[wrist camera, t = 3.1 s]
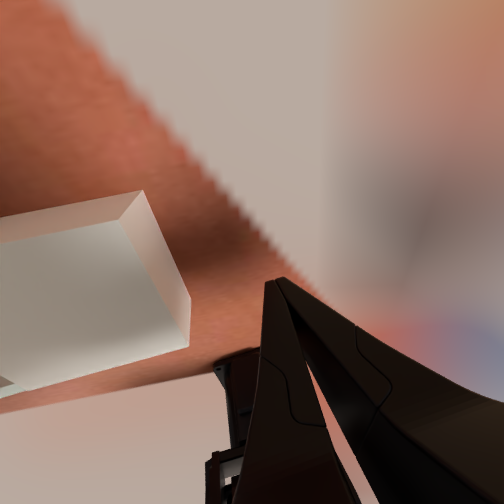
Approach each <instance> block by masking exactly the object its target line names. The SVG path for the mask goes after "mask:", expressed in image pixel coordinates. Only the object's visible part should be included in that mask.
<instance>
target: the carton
mask: <svg viewBox="0 0 504 504" xmlns="http://www.w3.org/2000/svg"><path fill="white" fill-rule="evenodd" d="M190 316H191V298H190V296H189V293H188V291H187V289H186V286H185V284H184V282H183V280H182V277H181V275H180V273H179V271H178V268H177V266H176V264H175V262H174V259H173V257H172V255H171V253H170V250H169V248H168V246H167V244H166V241H165V239H164V237H163V235H162V232H161V230H160V228H159V226H158V223H157V221H156V219H155V217H154V214H153V212H152V210H151V208H150V205H149V203H148V201H147V199H146V196H145V194H144V192H143V190H139V191H134V192H129V193H124V194H119V195H113V196H108V197H103V198H98V199H93V200H88V201H83V202H78V203H72V204H67V205H62V206H57V207H52V208H47V209H42V210H37V211H31V212H26V213H21V214H16V215H11V216H6V217H1V218H0V376H2V377H4V378H6V379H8V380H9V381H11V382H13V383H15V384H16V385H18V386H20V387H22V388H23V389H25V390H27V391H31V390H34V389H38V388H42V387H45V386H49V385H52V384H56V383H60V382H63V381H67V380H70V379H74V378H78V377H81V376H85V375H88V374H92V373H96V372H99V371H103V370H106V369H110V368H114V367H117V366H121V365H125V364H128V363H132V362H135V361H139V360H143V359H146V358H150V357H153V356H157V355H161V354H164V353H168V352H171V351H175V350H179V349H182V348H186V347H189V337H190Z"/></svg>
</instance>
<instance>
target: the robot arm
mask: <svg viewBox="0 0 504 504" xmlns="http://www.w3.org/2000/svg"><path fill="white" fill-rule="evenodd" d="M305 360H306V361H305ZM306 362H307V364H308V366H309V368H310V370H311V372H312V374H313V376H314V377H315V379H316V381H317V383H318V385H319V387H320V389H321V391H322V393H323V395H324V397H325V399H326V401H327V403H328V405H329V407H330V409H331V411H332V412H333V414H334V416H335V418H336V420H337V422H338V424H339V426H340V428H341V430H342V432H343V434H344V436H345V438H346V440H347V442H348V444H349V445H350V447H351V449H352V451H353V453H354V455H355V456H356V459H357V461H358V463H359V465H360V467H361V469H362V471H363V473H364V475H365V477H366V479H367V480H368V482H369V484H370V486H371V488H372V490H373V492H374V494H375V496H376V498H377V500H378V502H379V504H504V402H500V401H497V400H493V399H491V398H488V397H485V396H482V395H480V394H477V393H475V392H473V391H470V390H468V389H466V388H464V387H462V386H460V385H458V384H456V383H454V382H452V381H451V380H449V379H447V378H445V377H443V376H442V375H440V374H438V373H436V372H434V371H433V370H431V369H429V368H427V367H425V366H423V365H422V364H420V363H418V362H416V361H415V360H413V359H411V358H409V357H407V356H406V355H404V354H402V353H400V352H399V351H397V350H395V349H393V348H392V347H390V346H388V345H387V344H385V343H383V342H382V341H380V340H378V339H377V338H375V337H374V336H372V335H371V334H369V333H367V332H366V331H365V330H363V329H362V328H360V327H359V326H355V324H354V323H352V322H351V321H350V320H348V319H347V318H345V317H344V316H342V315H341V314H339V313H338V312H336V311H335V310H333V309H332V308H330V307H329V306H327V305H326V304H324V303H323V302H321V301H320V300H318V299H317V298H315V297H314V296H312V295H311V294H309V293H308V292H306V291H305V290H303V289H302V288H300V287H299V286H297V285H296V284H294V283H293V282H291V281H290V280H288V279H287V278H286V277H280V278H277V279H275V280H270V281H266V282H265V287H264V301H263V315H262V330H261V344H260V349H257V350H254V351H251V352H248V353H245V354H242V355H238V356H235V357H232V358H229V359H226V360H223V361H220V362H217V363H215V364H214V365H213V371H214V373H215V374H216V376H217V377H218V379H219V381H220V382H221V384H222V386H223V387H224V389H225V393H226V403H227V414H228V424H229V434H230V444H231V449H228V450H225V451H221V452H219V451H216V452H212V458H211V459H210V460H208V461H207V462H205V481H206V483H205V486H206V493H205V504H362V503H361V501H360V499H359V497H358V495H357V492H356V490H355V488H354V486H353V484H352V482H351V480H350V479H349V477H348V475H347V473H346V471H345V469H344V467H343V465H342V463H341V461H340V459H339V457H338V455H337V453H336V452H335V449H334V447H333V444H332V441H331V438H330V435H329V432H328V429H327V428H326V423H325V419H324V416H323V413H322V410H321V407H320V404H319V401H318V398H317V395H316V392H315V389H314V385H313V383H312V379H311V376H310V373H309V370H308V367H307V364H306ZM237 474H239V475H237ZM234 475H236V476H234ZM231 476H232V477H231ZM228 477H231V484H228V485H225V478H228Z"/></svg>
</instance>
